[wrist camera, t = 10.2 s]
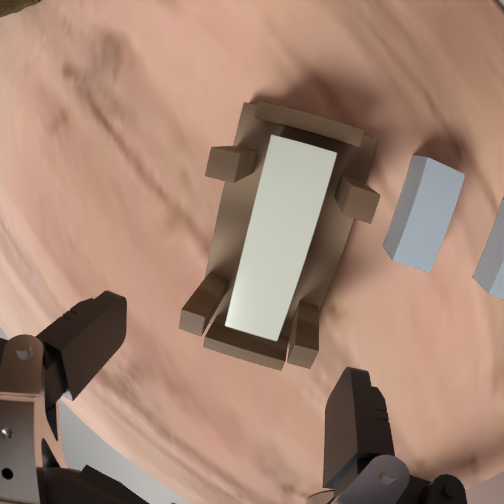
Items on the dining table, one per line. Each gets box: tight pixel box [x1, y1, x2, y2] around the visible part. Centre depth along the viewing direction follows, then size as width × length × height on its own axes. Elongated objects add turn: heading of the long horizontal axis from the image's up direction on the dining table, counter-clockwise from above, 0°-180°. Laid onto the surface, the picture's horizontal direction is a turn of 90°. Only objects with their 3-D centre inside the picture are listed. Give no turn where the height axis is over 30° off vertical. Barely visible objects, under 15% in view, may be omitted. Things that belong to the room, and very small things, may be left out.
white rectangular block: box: [225, 135, 337, 341], centre depth 19 cm, size 4×12×4 cm, turn 167°
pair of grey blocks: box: [383, 155, 504, 299], centre depth 18 cm, size 7×12×3 cm, turn 76°
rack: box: [179, 101, 380, 371], centre depth 19 cm, size 17×9×7 cm, turn 166°
